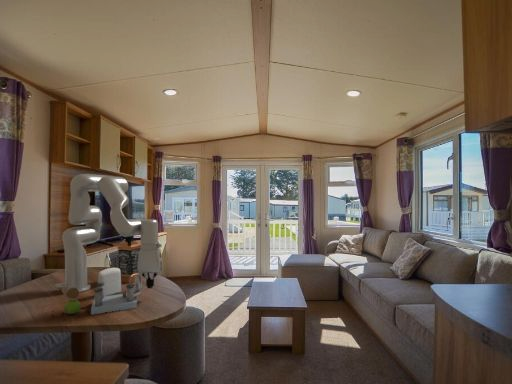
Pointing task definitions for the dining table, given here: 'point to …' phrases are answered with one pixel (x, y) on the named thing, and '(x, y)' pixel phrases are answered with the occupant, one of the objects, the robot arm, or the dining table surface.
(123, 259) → the whiskey bottle
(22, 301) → the dining table surface
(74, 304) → the snail figurine
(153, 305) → the dining table surface
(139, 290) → the hinged leg
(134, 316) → the dining table surface
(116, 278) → the photo printer
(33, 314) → the dining table surface
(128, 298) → the stool frame
